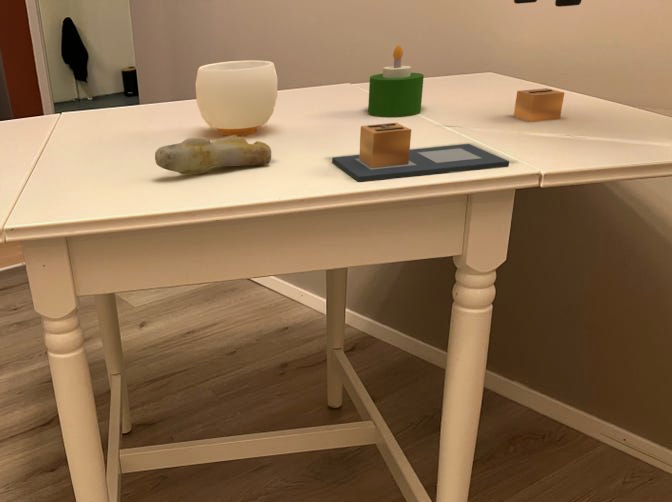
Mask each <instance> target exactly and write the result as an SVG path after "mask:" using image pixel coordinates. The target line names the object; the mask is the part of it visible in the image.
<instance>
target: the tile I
mask: <svg viewBox="0 0 672 502" xmlns="http://www.w3.org/2000/svg"><path fill="white" fill-rule="evenodd" d="M564 98H565V92H564V91H560V90H555V89H553V88H552V89H551V88H545V87H544V88H535V89H534V88H533V89H524V90H517V91H516V97H515V103H514V110H513V117H514V118H517V119H519V120H523V121H526V122H530V123H532V122H533V123H534V122H542V121H552V120H561V115H562V109H563V103H564Z"/></svg>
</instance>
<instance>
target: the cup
mask: <svg viewBox="0 0 672 502" xmlns="http://www.w3.org/2000/svg"><path fill="white" fill-rule="evenodd" d="M196 73H197V74H196V79H195V97H196V99H195V100H196V104H197V107H198V110H199V112H200V116H201V118H202V119H203V120H204V122H205V123H206V124H207V125H208V126H209V127H210V128H213V129H215V130H217V131H219V134H220V135H222V136H225V137H228V136H232V135H237V136H238V137H241V136H242V137H243V136H249V135H252V134H255V133H256V132H257V131H258V129H259V128H260V127H262V126H263V125H265V124H267V123H268V122H269V120H270V119H271V117H272V115H273V113H274V111H275V107H276V104H277V103H276V102H277V99H278V75H277V70H276V66H275V63H274V62H273V61H269V60H259V59H258V60H256V59H255V60H251V59H250V60H249V59H248V60H232V61H231V60H230V61H223V62H222V61H221V62H215V63H209V64H204V65H200V66H199V67H198V69H197V72H196Z"/></svg>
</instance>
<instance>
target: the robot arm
mask: <svg viewBox="0 0 672 502" xmlns="http://www.w3.org/2000/svg"><path fill="white" fill-rule="evenodd" d="M537 1H538V0H513V3H514V4H515V5H519V4H529V3H530V4H532V3H536V2H537ZM581 3H582V0H555V1H554V5H555V7H571V6H573V7H574V6H579V5H581Z"/></svg>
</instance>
